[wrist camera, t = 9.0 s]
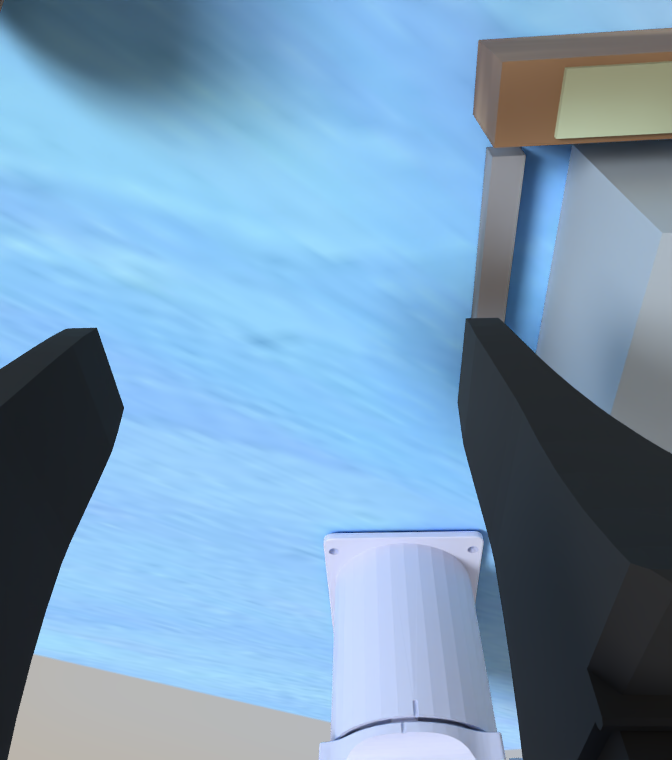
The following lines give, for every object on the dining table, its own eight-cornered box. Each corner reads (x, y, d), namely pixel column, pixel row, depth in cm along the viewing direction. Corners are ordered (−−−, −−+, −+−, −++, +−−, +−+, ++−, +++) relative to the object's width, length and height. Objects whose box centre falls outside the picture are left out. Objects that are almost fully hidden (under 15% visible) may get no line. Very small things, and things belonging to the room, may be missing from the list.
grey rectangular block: (619, 389, 25) (696, 524, 19) (528, 392, 25) (578, 526, 19) (692, 137, 19) (836, 225, 13) (571, 143, 19) (662, 232, 13)
